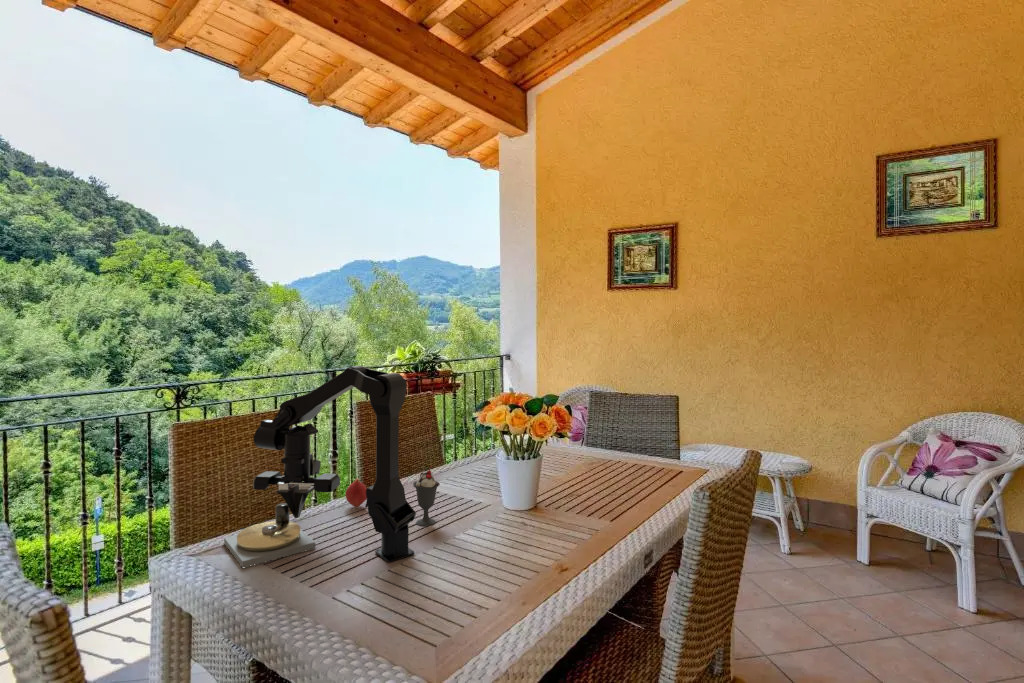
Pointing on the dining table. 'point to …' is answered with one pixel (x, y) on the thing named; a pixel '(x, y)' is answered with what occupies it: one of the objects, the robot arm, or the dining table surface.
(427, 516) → the sundae
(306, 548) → the base plate
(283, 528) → the handwheel
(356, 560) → the dining table surface
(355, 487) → the onion
